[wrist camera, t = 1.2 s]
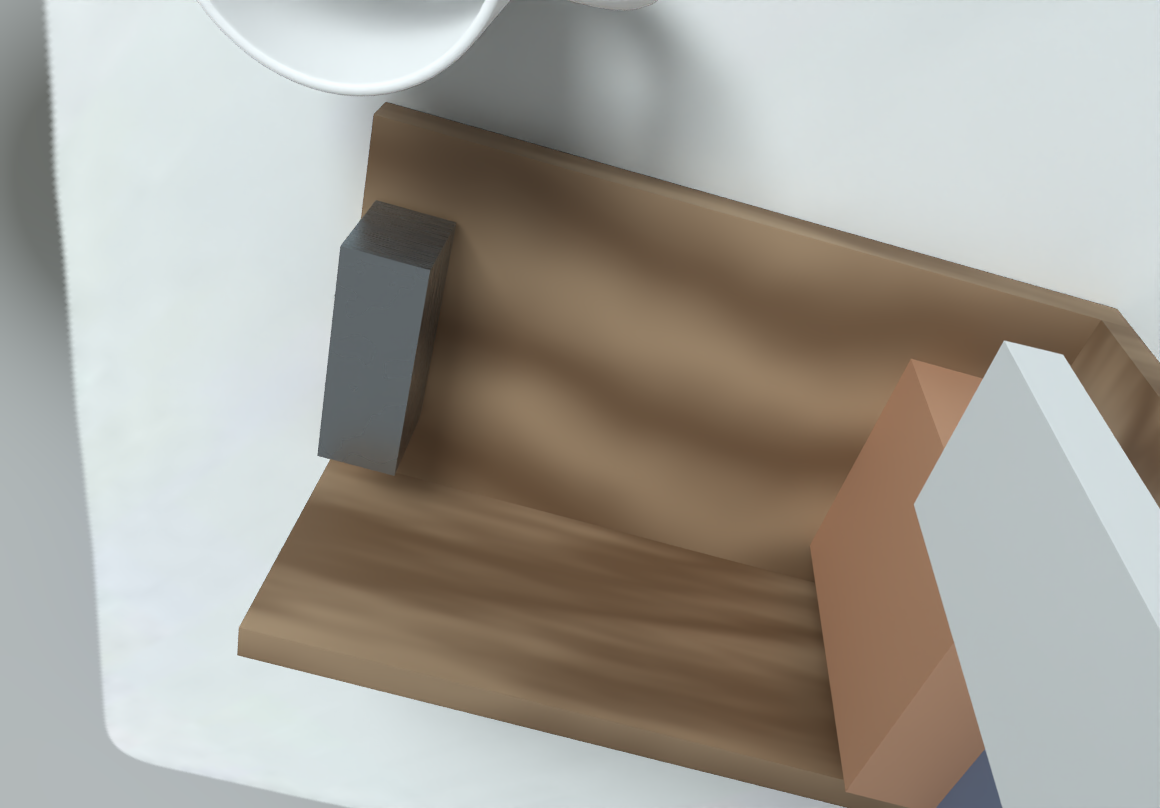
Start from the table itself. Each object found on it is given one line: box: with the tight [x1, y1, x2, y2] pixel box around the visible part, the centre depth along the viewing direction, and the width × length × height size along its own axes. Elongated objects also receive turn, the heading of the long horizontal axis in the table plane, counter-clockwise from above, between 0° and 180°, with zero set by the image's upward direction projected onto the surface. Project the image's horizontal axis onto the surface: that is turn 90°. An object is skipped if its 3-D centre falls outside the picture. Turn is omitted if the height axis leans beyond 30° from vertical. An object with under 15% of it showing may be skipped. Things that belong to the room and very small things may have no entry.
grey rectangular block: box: [318, 200, 457, 476], centre depth 35 cm, size 9×3×4 cm, turn 166°
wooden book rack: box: [237, 102, 1160, 808], centre depth 34 cm, size 17×28×12 cm, turn 76°
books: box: [810, 359, 1002, 808], centre depth 32 cm, size 11×6×14 cm, turn 166°
